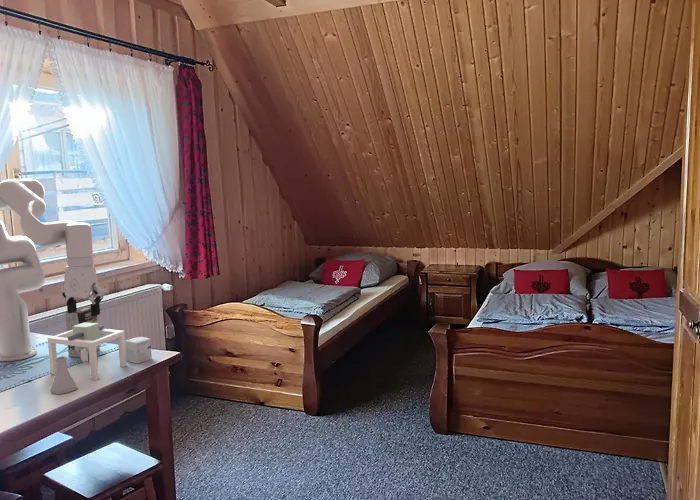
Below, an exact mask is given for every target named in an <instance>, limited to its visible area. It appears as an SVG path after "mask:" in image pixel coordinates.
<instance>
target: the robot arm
mask: <svg viewBox="0 0 700 500" xmlns="http://www.w3.org/2000/svg"><path fill="white" fill-rule="evenodd" d="M45 194H46V193H45V188H44V186H43V184H42V183H41V182H40V181H38V180H37V179H32V178H11V179H6V180H5V179H4V180H3V181H1V182H0V212H3V211H13V212H15V213H16V215H18V216H19V217H20V218H19V221H20V223H19V224H20V227H21V230H22V232H23V235H24V236H23V235H14V236H10V235H9V234H8V232H7V230H6V229H7V228H6V227H5V223H4V222H3V221H2V220H1V219H0V266H5V265H14V264H18V265H17V266H15V265H14V266H10V267H4V268H1V269H0V362H15V361H21V360H25V359H28V358H31V357H34V356H35V355H36V354H37V352H38V351H37V348H35V347H32V342H31V331H30V330H31V329H30V323H29V322H30V321H29V311H28V305H27V303H26V301H25V300H24V299H23V298H22V296H21V295H20V294H23V293H26V292H27V293H28V292H32V291H36V290H39V289H41V288H42V287H43V286H44V284H45V278H46V277H45V272H44V269H43V266H42V263H41V260H40V257H39V254H38V251H37V249H36V246H35V244H36V245H37V246H39V247H43V248H47V247H48V248H49V247H55V246H56V247H57V246H65V250H66V251H65V252H66V258H65V260H66V265H65V269H64V277H63V280H64V281H63V282H64V284H63V285H61V286H60V287H59V288H60V291H61V294H62V296H63V298H64V301H65V302H66V307H67V308H66V310H67V311H66V312H68V313H69V314H70V313H73V312H76V311H77V308H78V306H77V299H84V300H85V299H88V300H89V301H90V302H91V303H90V306H89V307H91V316H96V315H97V316H99V315H101V307H100V305H101V304H100V303H101V302H102V300H103V299H104V297H105V296H104V295H105V294H106V290H105V289H103V288H102V287H100V286H99V281H98V276H97V275H98V274H97V271H96V270H97V269H96V267H95V265H94V253H93V251H94V250H93V239H92V238H93V236H92V227H91V225H90V223H87V222H76V221H73V220H61V221H52V222H51V221H50V222H42V221H40V220H39V219H40V218H41V217H43V216H44V214H45V212H46V210H47V209H46V208H47V205H46V203H45V201H44V198H45Z"/></svg>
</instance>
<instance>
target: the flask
mask: <svg viewBox="0 0 700 500" xmlns="http://www.w3.org/2000/svg"><path fill="white" fill-rule="evenodd" d="M55 360H56V362H57V368H56V373H55V375H54V377H53V380H52V385H51V386H50V393H51V394H55V395H62V394H67V393H72V392H73V391H74V390H75V391H76V390H77V389H78V387H77V384H76V382H75V381H74V379H73V376H72V375H71V372H70V370H69V368H68V364H67V361H68V357H67V356H65V355H63V356H57V358H55Z"/></svg>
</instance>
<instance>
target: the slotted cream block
mask: <svg viewBox="0 0 700 500" xmlns="http://www.w3.org/2000/svg"><path fill="white" fill-rule="evenodd" d="M99 326H100V323H86V322H84V323H81V324H78V325H75V326H72V329H73V335H75V334H78V333H84V336H81V337H78V338H75V339H81V340H90V341H94V340H97V339H99V338H101V335H100V332H99ZM101 347H102V344H101V345H98V346H96V349H97V348H101ZM84 348H86V351H89V348H88V347H81V346H75V351H79V350H82V349H84Z"/></svg>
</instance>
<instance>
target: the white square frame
mask: <svg viewBox="0 0 700 500" xmlns="http://www.w3.org/2000/svg"><path fill="white" fill-rule="evenodd" d="M99 332H100V336H103V337H100V338H99V339H97V340H94V341H90V340H81V339H75V338H78V337H81V336H84V333H78V334H75V335H73V330H70V331H67V330H66V331H64V332H61V333H58V334H56V335H53V336H49V337H47V345H48V346H47V347H48V356H49V357H48V358H49V368H50V374H51V375H54V376H55V373H56V368H57V362H56V360H55V358H57V357H58V355H57V354H58V353H57V346H56V344H57V345H66V346H68V345H73V346H81V347H88V348H89V355H88V352H87V351H86V348H84V349H82V350H80V351H81V357H80V361H81V362H83V363H85V362H89V368H90V369H89V370H90V380H91V381H97V380H99V369H98V368H99V366H98V355H97V354H98V353H97V351H96V346H98V345H101V346H102V345H103V344H105V343H109V342H110V341H113V340H116V339H117V342H118V343H117V345H118V357H119V358H118V359H119V366H120V367H121V368H124V367H127V366H128V363H127V362H128V361H126V347H125V341H126V338H125V337H126V336H125V335H126V334H125V330H122V329H121V330H120V329H111V328H110V329H109V328H105V325H103V324H101V325H99ZM67 337H68V338H67Z"/></svg>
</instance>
